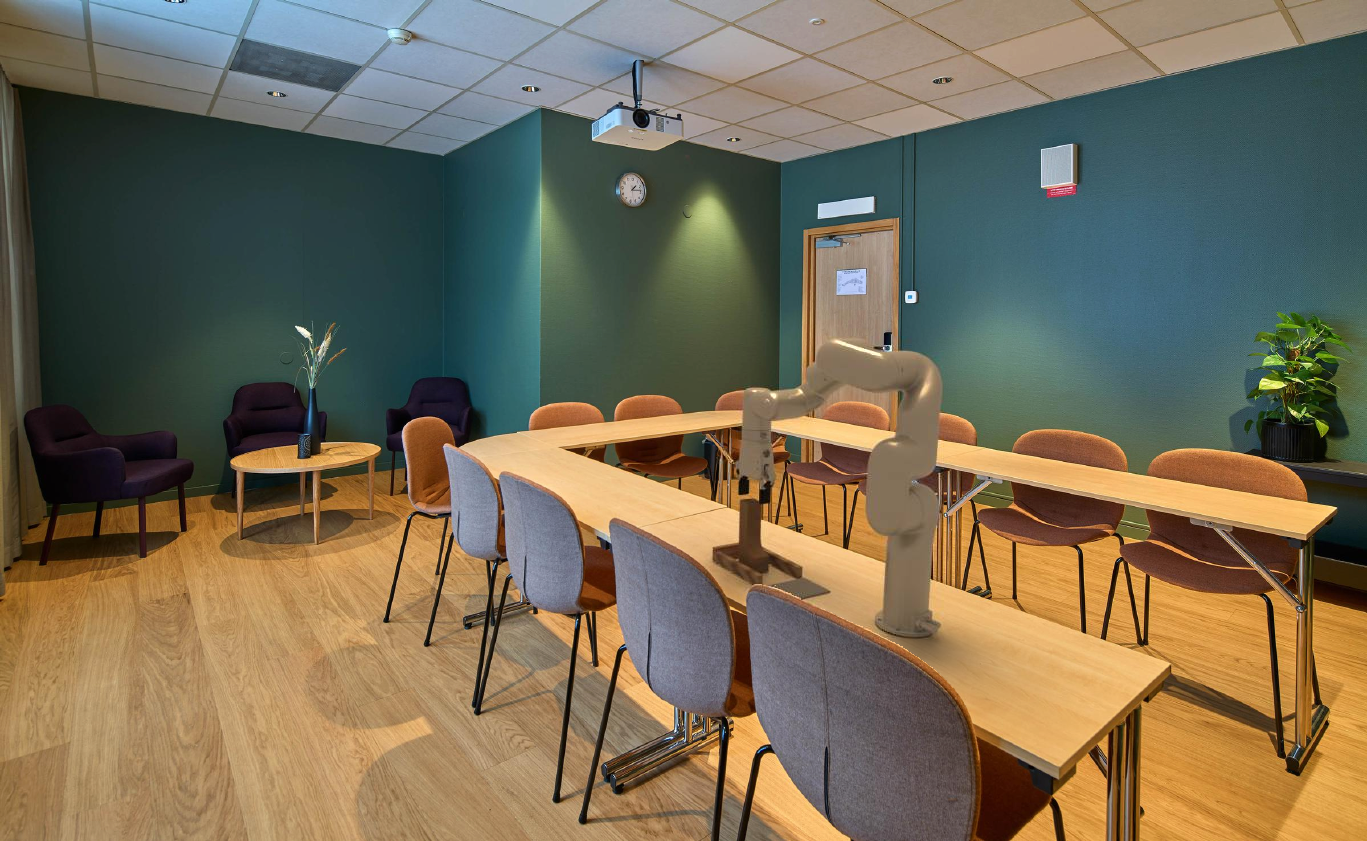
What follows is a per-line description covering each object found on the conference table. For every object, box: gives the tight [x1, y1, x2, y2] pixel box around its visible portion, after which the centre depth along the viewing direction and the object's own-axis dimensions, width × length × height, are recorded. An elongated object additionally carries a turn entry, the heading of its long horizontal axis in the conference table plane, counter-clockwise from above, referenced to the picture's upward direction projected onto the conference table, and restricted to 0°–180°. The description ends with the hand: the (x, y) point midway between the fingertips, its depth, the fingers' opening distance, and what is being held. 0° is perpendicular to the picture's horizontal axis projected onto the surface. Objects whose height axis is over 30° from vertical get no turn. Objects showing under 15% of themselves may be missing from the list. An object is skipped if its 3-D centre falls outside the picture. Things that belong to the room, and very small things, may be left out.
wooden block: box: [737, 497, 770, 574], centre depth 188 cm, size 9×4×18 cm, turn 24°
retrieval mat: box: [767, 577, 831, 600], centre depth 173 cm, size 10×14×1 cm
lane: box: [711, 541, 803, 586], centre depth 188 cm, size 22×14×4 cm, turn 29°
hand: (753, 499), depth 187 cm, fingers open, 9 cm apart
